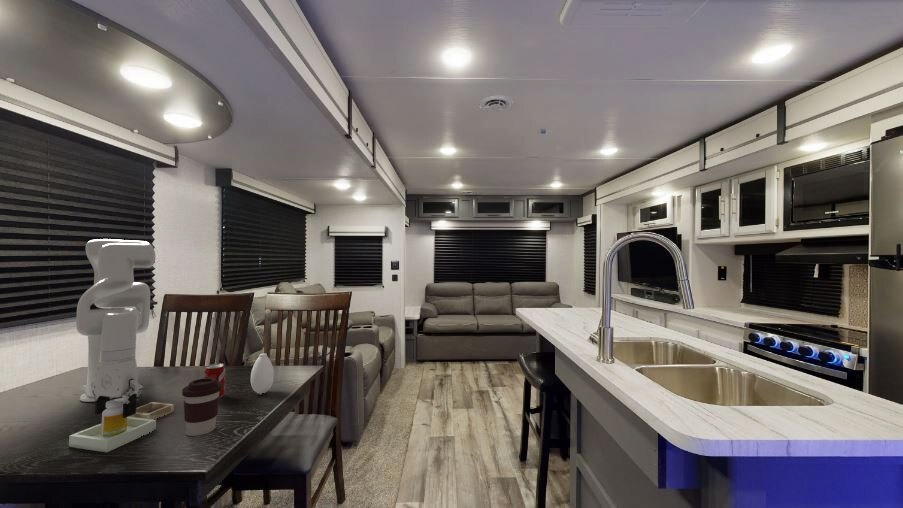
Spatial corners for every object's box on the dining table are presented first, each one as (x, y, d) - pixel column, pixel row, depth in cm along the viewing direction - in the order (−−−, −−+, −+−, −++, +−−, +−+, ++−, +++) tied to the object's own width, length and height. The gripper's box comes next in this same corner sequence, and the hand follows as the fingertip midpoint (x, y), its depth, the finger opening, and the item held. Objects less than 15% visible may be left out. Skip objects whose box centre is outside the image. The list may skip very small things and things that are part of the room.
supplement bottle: (130, 432, 104) (131, 399, 104) (106, 441, 99) (108, 405, 99) (120, 428, 106) (122, 396, 106) (97, 436, 101) (98, 402, 101)
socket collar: (124, 420, 113) (124, 412, 113) (152, 409, 122) (152, 401, 122) (146, 423, 112) (147, 415, 112) (173, 411, 120) (173, 404, 120)
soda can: (213, 402, 129) (215, 368, 130) (198, 400, 131) (199, 367, 131) (228, 395, 136) (230, 363, 136) (213, 393, 137) (215, 362, 138)
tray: (68, 446, 97) (69, 435, 97) (121, 425, 110) (121, 415, 110) (106, 452, 95) (107, 440, 95) (155, 430, 107) (156, 420, 107)
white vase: (245, 395, 136) (247, 348, 137) (263, 388, 144) (264, 344, 144) (260, 398, 134) (262, 350, 134) (277, 391, 141) (279, 346, 141)
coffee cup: (189, 442, 101) (191, 389, 101) (174, 433, 106) (176, 382, 106) (226, 429, 109) (228, 379, 109) (211, 420, 114) (212, 374, 115)
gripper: (79, 355, 101) (76, 416, 100) (128, 360, 98) (125, 423, 97) (109, 349, 108) (106, 406, 108) (155, 353, 105) (153, 411, 104)
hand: (115, 414), depth 102 cm, fingers open, 9 cm apart
